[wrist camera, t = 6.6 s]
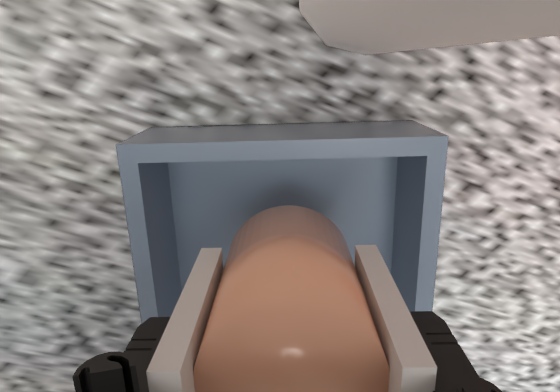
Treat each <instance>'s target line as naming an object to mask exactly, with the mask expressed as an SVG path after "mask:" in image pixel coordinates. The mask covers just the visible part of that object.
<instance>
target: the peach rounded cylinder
mask: <svg viewBox="0 0 560 392" xmlns="http://www.w3.org/2000/svg"><path fill="white" fill-rule="evenodd" d="M389 374H390V369H389V365H388V362H387V359H386V356H385V353H384V350H383V347H382V344H381V341H380V338H379V336H378V333H377V330H376V327H375V324H374V321H373V318H372V315H371V312H370V309H369V306H368V304H367V301H366V298H365V295H364V292H363V289H362V286H361V283H360V280H359V277H358V274H357V271H356V269H355V266H354V263H353V260H352V257H351V254H350V251H349V248H348V245H347V242H346V240H345V238H344V236H343V234H342V233H341V231H340V230H339V228H338V227H337V226H336V225H335V224H334V223H333V222H332V221H331V220H330V219H328V218H327V217H326V216H324V215H322V214H321V213H319V212H317V211H315V210H312V209H309V208H306V207H301V206H292V205H285V206H277V207H272V208H269V209H266V210H263V211H261V212H259V213H257V214H256V215H254V216H253V217H251V218H250V219H248V220H247V221H246V222H245V223H244V224H243V225H242V226H241V227H240V229H239V230H238V231H237V233H236V234H235V236H234V238H233V240H232V242H231V246H230V249H229V252H228V256H227V259H226V262H225V266H224V269H223V272H222V276H221V279H220V282H219V286H218V289H217V292H216V296H215V299H214V302H213V306H212V309H211V312H210V316H209V319H208V322H207V326H206V329H205V332H204V336H203V339H202V342H201V346H200V349H199V352H198V356H197V359H196V362H195V366H194V370H193V377H194V387H195V392H388V390H389Z"/></svg>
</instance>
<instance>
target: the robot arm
mask: <svg viewBox="0 0 560 392" xmlns="http://www.w3.org/2000/svg"><path fill="white" fill-rule="evenodd" d="M355 269H356V271H357V274H358V277H359V280H360V283H361V286H362V289H363V292H364V295H365V298H366V301H367V304H368V306H369V309H370V312H371V315H372V318H373V321H374V324H375V327H376V330H377V333H378V336H379V338H380V341H381V344H382V347H383V350H384V353H385V356H386V359H387V362H388V365H389V369H390V374H389V390H388V392H502V391H501V390H500V389H498V388H497V387H496V386H495V385H494V384H492V383H490V382H488V381H486V380H484V379H482V378H479V376H478V374H477V373H476V371H475V369H474V368H473V366H472V365H471V363H470V361H469V360H468V358H467V357H466V355H465V353H464V352H463V350H462V348H461V347H460V345H458V342H457V340H456V339H455V337H454V335H452V332H451V331H450V329H449V327H448V326H447V324H446V323H445V321H444V320H443V319H441V318H440V317H439V316H437V315H436V314H435V313H433V312H432V311H409V310H408V308H407V306H406V304H405V302H404V300H403V298H402V296H401V294H400V292H399V290H398V288H397V286H396V284H395V282H394V280H393V278H392V276H391V274H390V272H389V270H388V268H387V266H386V264H385V262H384V260H383V258H382V256H381V254H380V252H379V250H378V248H377V246H376V245H355ZM222 272H223V256H222V248H201V250H200V253H199V255H198V257H197V259H196V262H195V264H194V266H193V268H192V271H191V273H190V275H189V277H188V279H187V282H186V284H185V286H184V288H183V291H182V293H181V295H180V297H179V300H178V302H177V304H176V306H175V308H174V311H173V313H172V315H171V317H149V318H148V319H147V320H146V321H145V322H143V323H142V324H141V325H140V326H139V327H138V328H137V329H136V331H135V333H134V335H133V337H132V338H131V341H130V342H129V344H128V346H127V347H126V351H124V353H123V352H108V353H104V354H101V355H97V356H95V357H93V358H91V359H89V360H87V361H86V362H84V363H83V364H82V365H81V366H80V367H79V368H77V370H76V372H75V373H74V375H73V381H74V386H75V391H76V392H195V387H194V377H193V370H194V366H195V362H196V359H197V356H198V352H199V349H200V346H201V342H202V339H203V336H204V332H205V329H206V326H207V322H208V319H209V316H210V312H211V309H212V306H213V302H214V299H215V296H216V292H217V289H218V286H219V282H220V279H221V276H222Z"/></svg>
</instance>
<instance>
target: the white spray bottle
mask: <svg viewBox="0 0 560 392" xmlns="http://www.w3.org/2000/svg"><path fill="white" fill-rule="evenodd" d="M299 9H300V13H301V14H302V16H303V17H304V18H305V19H306V21H307V22H308V23H309V24H310V26H311V27H312V28H313V29H314V31H315V32H316V33H317V35H318V36H319V37H320V38H321V40H322V41H323V42H324V43H325V45H326V46H330V47H335V48H339V49H343V50H347V51H351V52H355V53H359V54H363V55H371V54H381V53H391V52H401V51H410V50H420V49H430V48H440V47H450V46H459V45H469V44H479V43H489V42H498V41H508V40H518V39H528V38H537V37H547V36H557V35H560V0H299Z"/></svg>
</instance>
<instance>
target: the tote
mask: <svg viewBox="0 0 560 392" xmlns="http://www.w3.org/2000/svg"><path fill="white" fill-rule="evenodd" d="M448 137H449V136H447V135H445V134H443V133H440V132H438V131H436V130H433V129H431V128H429V127H426V126H424V125H422V124H420V123H417V122H415V121H413V120H406V121H368V122H330V123H292V124H254V125H216V126H179V127H151V128H149V129H147V130H145V131H143V132H141V133H139V134H137V135H135V136H133V137H131V138H129V139H127V140H124V141H122V142H120V143H118V144H116V149H117V156H118V163H119V170H120V177H121V184H122V191H123V198H124V205H125V211H126V218H127V225H128V232H129V239H130V246H131V253H132V260H133V267H134V274H135V280H136V287H137V294H138V301H139V308H140V315H141V322H142V323H143V322H145V321H146V320H147V319H148V318H149V317H171V315H172V313H173V311H174V308H175V306H176V304H177V302H178V300H179V297H180V295H181V293H182V291H183V288H184V286H185V284H186V282H187V279H188V277H189V275H190V273H191V271H192V268H193V266H194V264H195V262H196V259H197V257H198V255H199V253H200V250H201V248H222V256H223V269H224V266H225V262H226V259H227V256H228V252H229V249H230V246H231V242H232V240H233V238H234V236H235V234H236V233H237V231H238V230H239V229H240V227H241V226H242V225H243V224H244V223H245V222H246V221H247V220H248V219H250V218H251V217H253V216H254V215H256V214H257V213H259V212H261V211H263V210H266V209H269V208H272V207H277V206H285V205H292V206H301V207H306V208H309V209H312V210H315V211H317V212H319V213H321V214H322V215H324V216H326V217H327V218H328V219H330V220H331V221H332V222H333V223H334V224H335V225H336V226H337V227H338V228H339V230H340V231H341V233H342V234H343V236H344V238H345V240H346V242H347V245H348V248H349V251H350V254H351V257H352V260H353V263H354V266H355V245H376V246H377V248H378V250H379V252H380V254H381V256H382V258H383V260H384V262H385V264H386V266H387V268H388V270H389V272H390V274H391V276H392V278H393V280H394V282H395V284H396V286H397V288H398V290H399V292H400V294H401V296H402V298H403V300H404V302H405V304H406V306H407V308H408V310H409V311H432V308H433V297H434V286H435V276H436V265H437V254H438V244H439V233H440V222H441V211H442V201H443V190H444V179H445V169H446V158H447V147H448Z"/></svg>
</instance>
